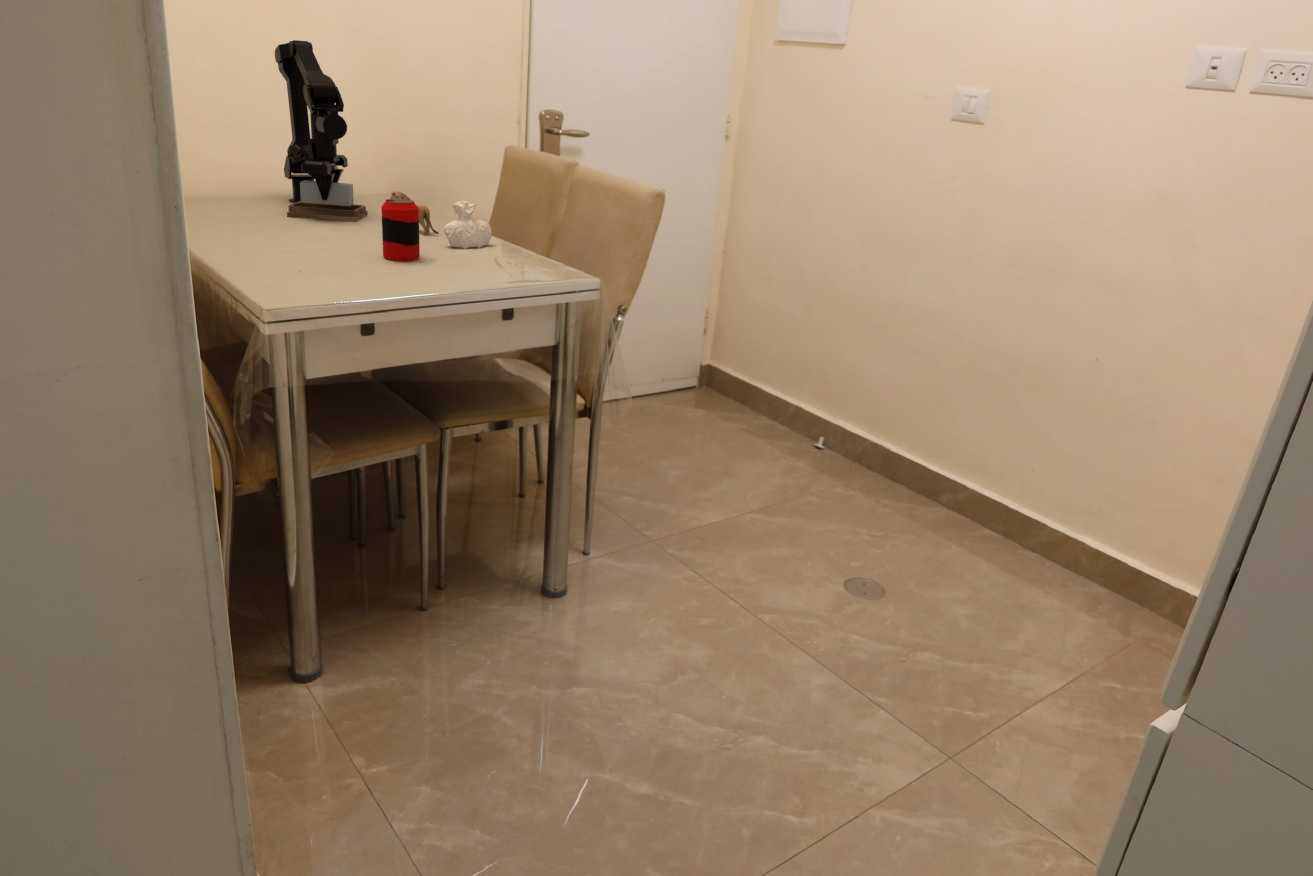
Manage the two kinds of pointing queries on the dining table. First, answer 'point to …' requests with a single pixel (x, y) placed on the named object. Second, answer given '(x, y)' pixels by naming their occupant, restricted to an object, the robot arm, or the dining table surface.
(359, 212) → the brown wooden tray
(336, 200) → the grey block
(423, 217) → the lion figurine
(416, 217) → the soda can
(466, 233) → the white tied bag
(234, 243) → the dining table surface
